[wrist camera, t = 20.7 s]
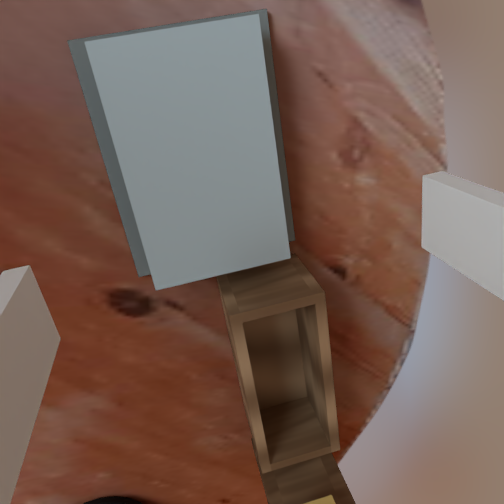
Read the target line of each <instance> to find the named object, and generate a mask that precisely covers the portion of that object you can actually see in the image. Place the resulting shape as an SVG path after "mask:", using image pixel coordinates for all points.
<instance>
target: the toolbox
mask: <svg viewBox="0 0 504 504" xmlns="http://www.w3.org/2000/svg"><path fill="white" fill-rule="evenodd" d="M290 256H291V258H289V259H285V260H281V261H277V262H273V263H269V264H264V265H260V266H256V267H252V268H248V269H244V270H239V271H235V272H231V273H227V274H223V275H219V276H216V278H217V282H218V287H219V291H220V296H221V301H222V305H223V310H224V315H225V319H226V324H227V328H228V333H229V338H230V342H231V347H232V352H233V356H234V361H235V365H236V370H237V375H238V379H239V384H240V389H241V393H242V398H243V402H244V407H245V412H246V416H247V419H248V423H249V427H250V430H251V434H252V438H251V439H252V444H253V449H254V453H255V456H256V460H257V464H258V467H259V471H260V475H261V478H262V482H263V486H264V489H265V493H266V497H267V501H268V504H304V503H307V502H310V501H314V500H317V499H320V498H323V497H326V496H329V495H332V496H333V499H334V501H335V503H336V504H355V501H354V499H353V497H352V495H351V493H350V491H349V489H348V487H347V484H346V483H345V480H344V478H343V476H342V474H341V472H340V470H339V468H338V465H337V463H336V461H335V459H334V457H333V455H332V452H335V451H339V450H340V443H339V432H338V422H337V412H336V401H335V391H334V381H333V371H332V360H331V350H330V340H329V329H328V319H327V309H326V299H325V291H324V290H323V289H322V288H321V286H320V285H319V284H318V282H317V281H316V280H315V279H314V277H313V276H312V275H311V273H310V272H309V271H308V270H307V268H306V267H305V266H304V264H303V263H302V262H301V261H300V259H299V258H298V257H297V255H296V254H292V255H290Z"/></svg>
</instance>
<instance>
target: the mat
mask: <svg viewBox="0 0 504 504" xmlns="http://www.w3.org/2000/svg"><path fill="white" fill-rule="evenodd" d="M254 14H259V19H260V27H261V35H262V42H263V50H264V58H265V65H266V73H267V80H268V88H269V96H270V103H271V111H272V119H273V126H274V134H275V142H276V149H277V157H278V165H279V172H280V180H281V188H282V195H283V203H284V210H285V218H286V226H287V233H288V241H289V242H291V241H295V234H294V226H293V218H292V209H291V201H290V193H289V185H288V177H287V169H286V161H285V153H284V145H283V137H282V128H281V120H280V112H279V104H278V96H277V88H276V80H275V72H274V64H273V56H272V47H271V39H270V31H269V23H268V15H267V9H262V10H256V11H250V12H244V13H237V14H231V15H225V16H219V17H212V18H206V19H200V20H193V21H187V22H181V23H175V24H168V25H162V26H156V27H150V28H143V29H137V30H131V31H125V32H118V33H112V34H106V35H99V36H93V37H87V38H81V39H74V40H68V45H69V48H70V51H71V55H72V58H73V61H74V64H75V68H76V71H77V74H78V78H79V81H80V84H81V88H82V91H83V94H84V98H85V101H86V104H87V107H88V111H89V114H90V117H91V121H92V124H93V127H94V131H95V134H96V137H97V140H98V144H99V147H100V150H101V154H102V157H103V160H104V164H105V167H106V170H107V174H108V177H109V180H110V183H111V187H112V190H113V193H114V197H115V200H116V203H117V207H118V210H119V213H120V216H121V220H122V223H123V226H124V230H125V233H126V236H127V240H128V243H129V246H130V250H131V253H132V256H133V259H134V263H135V266H136V269H137V273H138V276H139V277H141V276H146V275H150V274H151V272H150V268H149V265H148V261H147V258H146V255H145V251H144V248H143V244H142V241H141V237H140V234H139V230H138V227H137V223H136V220H135V216H134V213H133V209H132V206H131V202H130V199H129V195H128V192H127V189H126V185H125V182H124V178H123V175H122V171H121V168H120V164H119V161H118V157H117V154H116V150H115V147H114V143H113V140H112V136H111V133H110V130H109V126H108V123H107V119H106V116H105V112H104V109H103V105H102V102H101V98H100V95H99V91H98V88H97V84H96V81H95V77H94V74H93V70H92V67H91V64H90V60H89V57H88V53H87V50H86V46H85V43H84V42H86V41H92V40H99V39H105V38H111V37H117V36H124V35H130V34H136V33H142V32H148V31H155V30H161V29H167V28H173V27H180V26H186V25H192V24H198V23H204V22H211V21H217V20H223V19H229V18H236V17H242V16H248V15H254Z"/></svg>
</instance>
